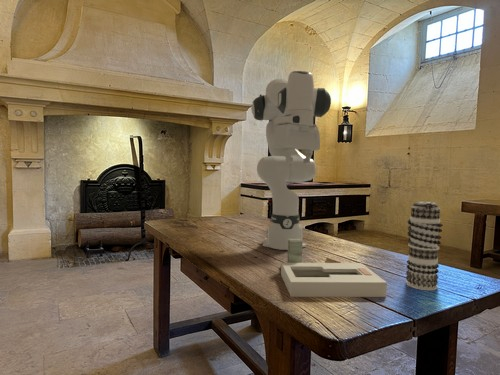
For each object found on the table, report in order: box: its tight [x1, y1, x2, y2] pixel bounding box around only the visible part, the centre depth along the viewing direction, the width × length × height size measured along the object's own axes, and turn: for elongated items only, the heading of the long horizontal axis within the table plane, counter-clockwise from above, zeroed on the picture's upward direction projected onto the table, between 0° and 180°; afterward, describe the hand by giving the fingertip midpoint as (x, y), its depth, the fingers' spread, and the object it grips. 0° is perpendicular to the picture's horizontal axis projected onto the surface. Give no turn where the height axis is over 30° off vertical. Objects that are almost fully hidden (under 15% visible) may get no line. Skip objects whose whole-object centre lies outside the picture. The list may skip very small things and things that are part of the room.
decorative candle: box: [405, 201, 444, 292], centre depth 100 cm, size 9×9×25 cm
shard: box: [324, 257, 342, 263], centre depth 119 cm, size 11×8×2 cm
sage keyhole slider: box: [286, 239, 303, 263], centre depth 111 cm, size 8×8×10 cm
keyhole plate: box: [280, 262, 388, 298], centre depth 99 cm, size 18×26×4 cm
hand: (298, 163), depth 111 cm, fingers open, 8 cm apart
